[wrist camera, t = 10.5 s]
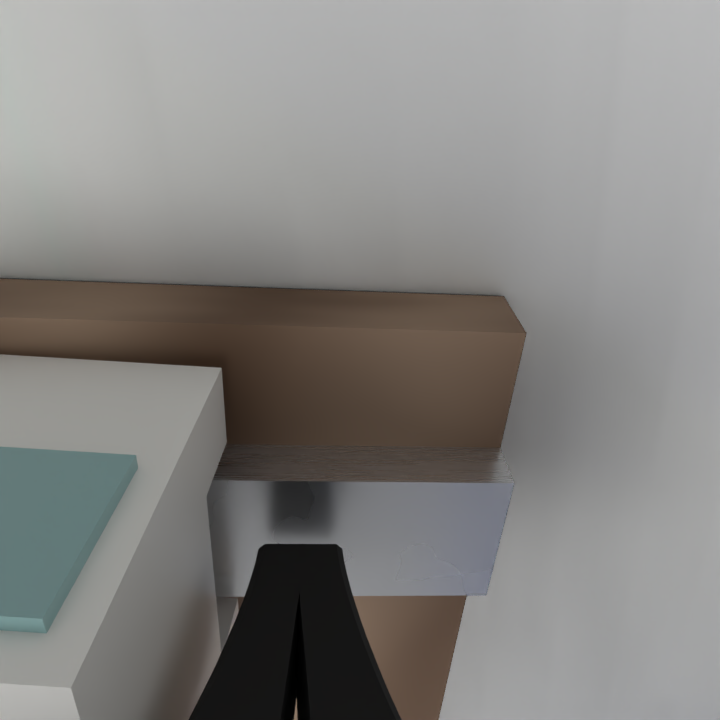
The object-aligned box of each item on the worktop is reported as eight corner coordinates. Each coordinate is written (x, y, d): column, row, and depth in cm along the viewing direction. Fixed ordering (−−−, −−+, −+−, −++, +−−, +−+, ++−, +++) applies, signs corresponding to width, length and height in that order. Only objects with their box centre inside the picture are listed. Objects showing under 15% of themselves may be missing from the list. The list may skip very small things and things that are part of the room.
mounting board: (503, 296, 12) (526, 332, 11) (413, 746, 20) (420, 798, 19) (-161, 272, 11) (-225, 310, 10) (29, 756, 19) (7, 811, 18)
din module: (220, 356, 10) (66, 673, 5) (241, 644, 13) (160, 993, 9) (-56, 340, 10) (-463, 637, 5) (36, 631, 13) (-158, 971, 9)
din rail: (515, 382, 11) (602, 555, 8) (465, 602, 14) (512, 797, 11) (-199, 365, 10) (-466, 555, 7) (-88, 606, 13) (-232, 823, 10)
